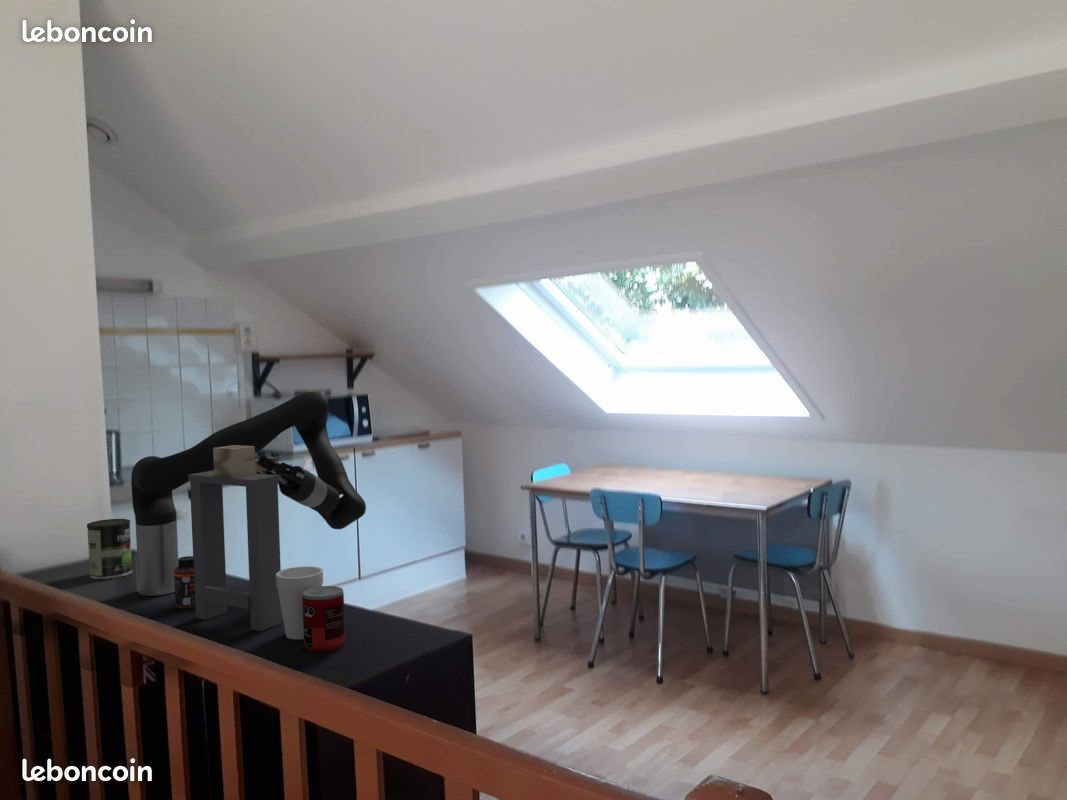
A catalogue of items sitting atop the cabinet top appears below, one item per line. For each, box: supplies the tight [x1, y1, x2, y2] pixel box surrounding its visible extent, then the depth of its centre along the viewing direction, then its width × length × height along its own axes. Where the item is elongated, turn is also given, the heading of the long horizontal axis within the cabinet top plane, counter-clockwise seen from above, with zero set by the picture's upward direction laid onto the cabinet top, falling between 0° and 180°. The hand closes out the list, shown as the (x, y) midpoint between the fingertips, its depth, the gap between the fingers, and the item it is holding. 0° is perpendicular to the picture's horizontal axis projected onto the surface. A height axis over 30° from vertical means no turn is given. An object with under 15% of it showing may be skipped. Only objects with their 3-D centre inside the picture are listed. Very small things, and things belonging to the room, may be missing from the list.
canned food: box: [302, 585, 346, 652], centre depth 166 cm, size 8×8×11 cm
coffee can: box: [86, 518, 133, 580], centre depth 223 cm, size 10×10×14 cm
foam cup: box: [276, 565, 324, 640], centre depth 173 cm, size 10×9×13 cm
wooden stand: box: [188, 471, 284, 632], centre depth 182 cm, size 20×7×32 cm, turn 61°
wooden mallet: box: [213, 445, 279, 477], centre depth 185 cm, size 6×14×6 cm, turn 151°
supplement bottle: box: [174, 555, 196, 610], centre depth 194 cm, size 6×6×11 cm
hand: (254, 459), depth 186 cm, fingers closed on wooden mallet, 3 cm apart
